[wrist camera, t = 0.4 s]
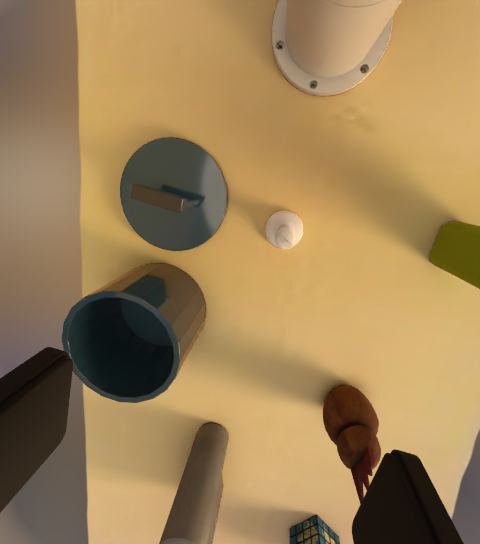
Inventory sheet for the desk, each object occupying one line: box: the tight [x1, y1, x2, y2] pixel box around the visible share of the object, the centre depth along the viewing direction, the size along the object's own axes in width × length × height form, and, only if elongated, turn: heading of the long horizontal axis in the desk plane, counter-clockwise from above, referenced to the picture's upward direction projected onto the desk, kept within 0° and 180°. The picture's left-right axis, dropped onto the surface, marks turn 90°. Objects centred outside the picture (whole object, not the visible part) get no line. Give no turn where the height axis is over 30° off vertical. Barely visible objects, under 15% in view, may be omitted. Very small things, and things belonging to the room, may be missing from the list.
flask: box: [159, 423, 229, 544], centre depth 43 cm, size 15×6×20 cm, turn 174°
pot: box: [62, 263, 206, 403], centre depth 40 cm, size 13×13×12 cm
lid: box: [120, 138, 227, 251], centre depth 38 cm, size 14×14×6 cm
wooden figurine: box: [323, 385, 381, 503], centre depth 39 cm, size 7×6×15 cm
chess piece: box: [265, 210, 303, 249], centre depth 36 cm, size 5×5×10 cm
